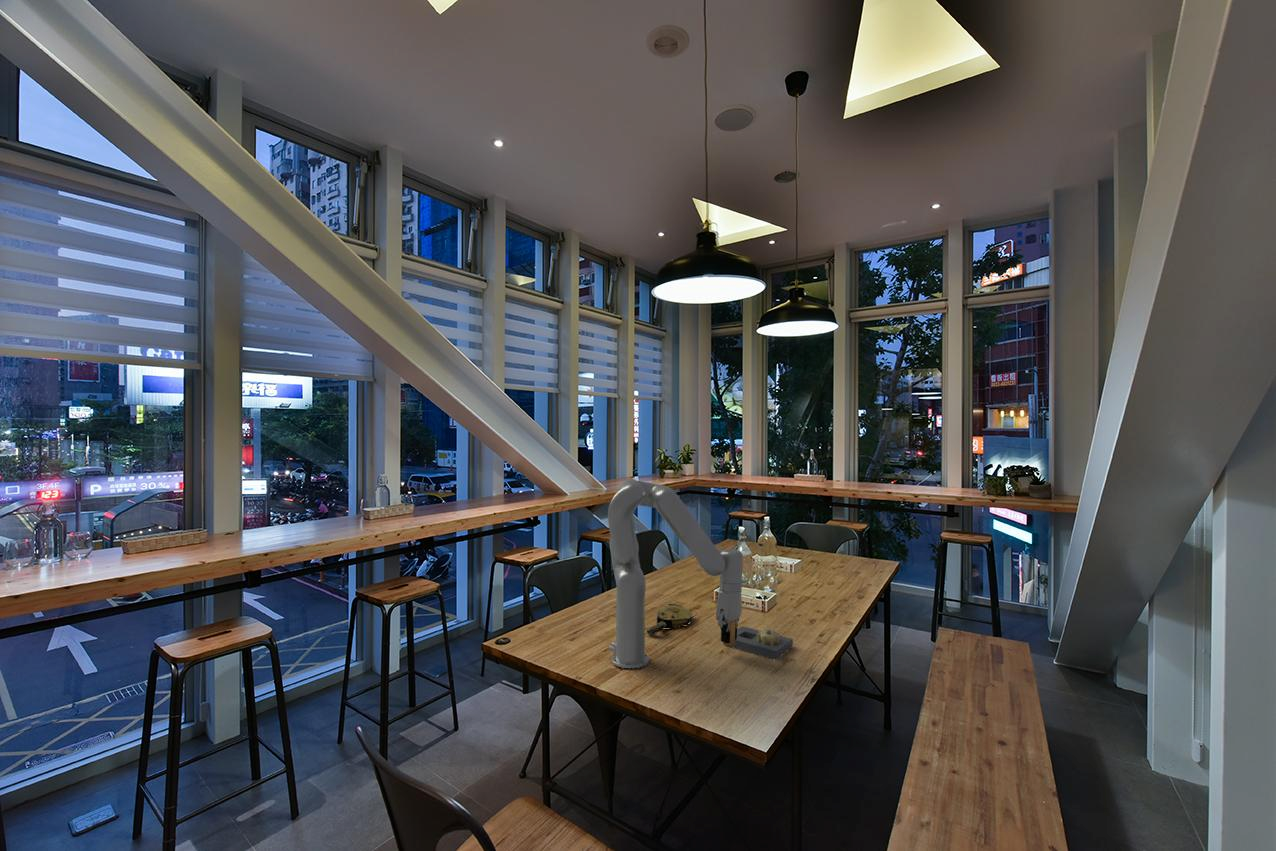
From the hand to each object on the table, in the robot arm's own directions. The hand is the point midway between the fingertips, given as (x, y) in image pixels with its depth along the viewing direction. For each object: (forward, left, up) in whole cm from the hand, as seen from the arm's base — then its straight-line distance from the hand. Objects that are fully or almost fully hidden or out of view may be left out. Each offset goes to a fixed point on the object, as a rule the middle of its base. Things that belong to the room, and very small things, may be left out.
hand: (728, 639), depth 183 cm
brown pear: (0, 0, -1) cm, 1 cm away
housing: (+4, +15, -6) cm, 16 cm away
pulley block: (-34, +11, -6) cm, 36 cm away
